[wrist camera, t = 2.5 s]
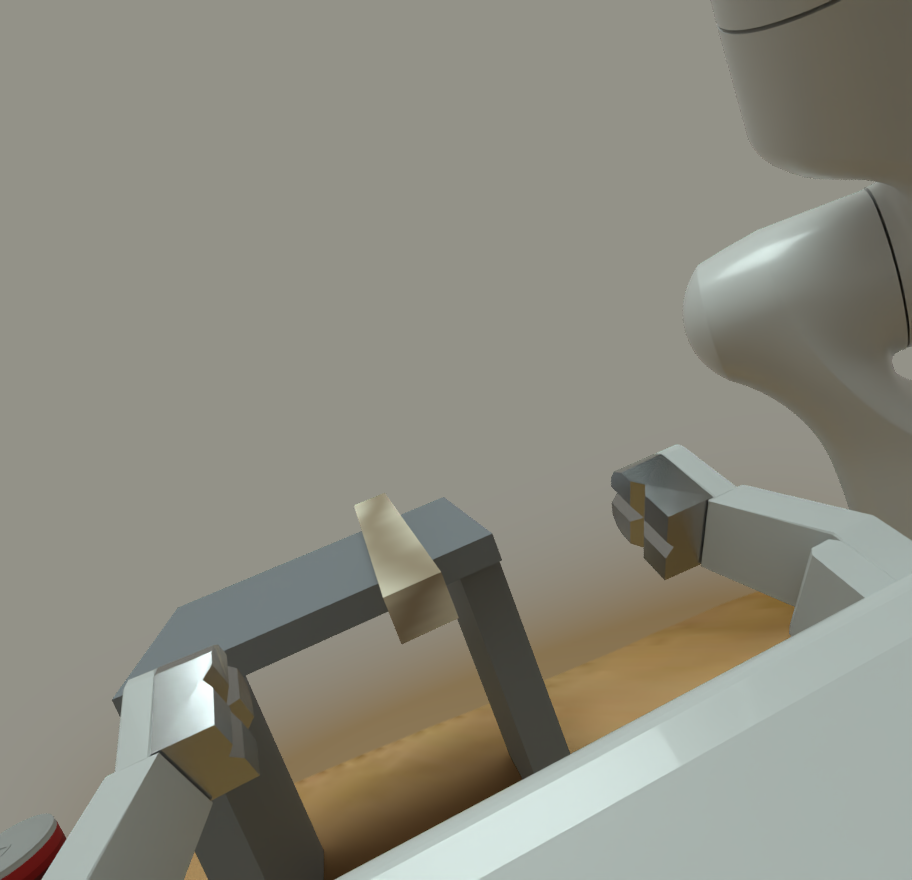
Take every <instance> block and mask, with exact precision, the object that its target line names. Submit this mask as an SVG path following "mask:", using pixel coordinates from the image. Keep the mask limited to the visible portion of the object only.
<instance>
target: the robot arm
mask: <svg viewBox="0 0 912 880" xmlns="http://www.w3.org/2000/svg"><path fill="white" fill-rule="evenodd" d="M711 4H712V8H713V12H714V16H715V20H716V23H717V28H718V31H719V35H720V39H721V42H722V46H723V50H724V53H725V57H726V60H727V64H728V68H729V71H730V75H731V79H732V82H733V86H734V89H735V93H736V97H737V100H738V104H739V108H740V111H741V115H742V119H743V122H744V126H745V129H746V133H747V137H748V140H749V142H750V143H751V145H752V146H753V148H754V150H755V151H756V152H757V153H758V154H759V155H760V156H761V157H762V158H763V159H764V160H765V161H767V162H768V163H770V164H772V165H773V166H775V167H778V168H780V169H782V170H785V171H787V172H789V173H792V174H796V175H799V176H802V177H807V178H813V179H832V180H834V179H835V180H839V179H841V180H842V179H843V180H868V181H875V183H874V184H872V185H870V186H868V187H865V188H864V190H861V191H858V192H856V193H853V194H851V195H848V196H845V197H843V198H840V199H837V200H835V201H832V202H829V203H827V204H824V205H822V206H819V207H816V208H814V209H811V210H808V211H806V212H804V213H801V214H798V215H795V216H793V217H790V218H787V219H785V220H783V221H780V222H777V223H774V224H772V225H769V226H767V227H764V228H761V229H759V230H756V231H755V232H753V233H751V234H749V235H748V236H746V237H744V238H742V239H740V240H739V241H737V242H735V243H733V244H732V245H730V246H728V247H726V248H725V249H723V250H721V251H720V252H718V253H717V254H715V255H713V256H712V257H710V258H709V259H707V260H705V261H704V262H702V263H700V264H699V265H698V266H697V268H696V269H695V271H694V273H693V274H692V277H691V279H690V281H689V283H688V286H687V289H686V292H685V296H684V301H683V323H684V328H685V332H686V336H687V338H688V341H689V343H690V345H691V347H692V349H693V350H694V352H695V354H696V355H697V356H698V357H699V359H700V360H701V361H702V362H703V363H704V364H705V365H706V366H707V367H709V368H710V369H711V370H713V371H714V372H715V373H717V374H718V375H720V376H722V377H723V378H726V379H728V380H730V381H733V382H736V383H739V384H743V385H746V386H748V387H751V388H753V389H755V390H758V391H760V392H762V393H764V394H766V395H768V396H770V397H771V398H773V399H775V400H777V401H778V402H780V403H781V404H783V405H784V406H786V407H787V408H788V409H789V410H791V411H792V412H793V413H794V414H796V415H797V416H798V417H799V418H800V419H801V420H803V421H804V423H805V424H806V425H807V426H808V427H809V428H810V429H811V430H812V431H813V432H814V434H815V435H816V436H817V438H818V439H819V440H820V442H821V443H822V445H823V446H824V448H825V450H826V451H827V453H828V455H829V457H830V459H831V461H832V464H833V466H834V468H835V471H836V473H837V476H838V479H839V481H840V484H841V486H842V489H843V492H844V495H845V498H846V501H847V504H848V507H849V510H848V509H844V508H840V507H835V506H831V505H827V504H823V503H819V502H814V501H810V500H806V499H802V498H798V497H794V496H789V495H785V494H781V493H777V492H772V491H768V490H764V489H760V488H756V487H751V486H747V485H741V486H738V487H736V486H735V485H734V484H732V483H731V482H730V481H728V480H727V479H725V478H724V477H723V476H722V475H720V474H719V473H718V472H716V471H715V470H714V469H712V468H711V467H710V466H709V465H707V464H706V463H705V462H703V461H702V460H701V459H700V458H698V457H697V456H696V455H694V454H693V453H692V452H690V451H689V450H688V449H686V448H685V447H684V446H681V445H678V444H676V445H674V446H672V447H669V448H667V449H665V450H663V451H660V452H658V453H656V454H653V455H651V456H648V457H646V458H644V459H642V460H639V461H637V462H635V463H633V464H630V465H628V466H626V467H624V468H621V469H619V470H617V471H615V472H614V473H613V475H612V477H611V482H612V483H611V484H612V485H611V486H612V488H613V489H614V490H615V491H616V492H617V494H616V496H615V498H614V500H613V502H612V511H613V516H614V519H615V521H616V524H617V526H618V528H619V529H620V531H621V533H622V534H623V535H624V537H625V538H626V539H627V540H628V541H629V542H630V543H631V544H634V545H637V546H640V547H644V559H645V560H646V561H647V562H648V563H649V564H650V565H651V566H652V567H653V568H654V569H655V570H656V571H657V572H658V573H659V574H660V576H661V577H662V578H663V579H664V580H666V579H669V578H671V577H673V576H675V575H678V574H680V573H682V572H684V571H687V570H689V569H691V568H693V567H696V566H698V565H700V564H701V566H702V567H704V568H706V569H709V570H711V571H713V572H716V573H718V574H720V575H722V576H725V577H727V578H729V579H732V580H734V581H736V582H739V583H741V584H743V585H746V586H748V587H750V588H752V589H755V590H757V591H759V592H762V593H764V594H766V595H769V596H771V597H773V598H776V599H778V600H780V601H783V602H785V603H787V604H790V605H792V606H794V607H795V609H794V613H793V616H792V620H791V623H790V630H789V634H790V635H791V636H792V637H790V638H789V639H787V640H785V641H783V642H781V643H779V644H777V645H775V646H774V647H772V648H770V649H768V650H766V651H764V652H762V653H760V654H758V655H757V656H755V657H753V658H751V659H749V660H747V661H745V662H743V663H742V664H740V665H738V666H736V667H734V668H732V669H730V670H728V671H726V672H725V673H723V674H721V675H719V676H717V677H715V678H713V679H711V680H709V681H708V682H706V683H704V684H702V685H700V686H698V687H696V688H694V689H692V690H691V691H689V692H687V693H685V694H683V695H681V696H679V697H677V698H675V699H674V700H672V701H670V702H668V703H666V704H664V705H662V706H660V707H659V708H657V709H655V710H653V711H651V712H649V713H647V714H645V715H643V716H642V717H640V718H638V719H636V720H634V721H632V722H630V723H628V724H626V725H625V726H623V727H621V728H619V729H617V730H615V731H613V732H611V733H609V734H608V735H606V736H604V737H602V738H600V739H598V740H596V741H594V742H593V743H591V744H589V745H587V746H585V747H583V748H581V749H579V750H577V751H576V752H574V753H572V754H570V755H568V756H566V757H564V758H562V759H560V760H559V761H557V762H555V763H553V764H551V765H549V766H547V767H545V768H544V769H542V770H540V771H538V772H536V773H534V774H532V775H530V776H528V777H527V778H525V779H523V780H521V781H519V782H517V783H515V784H513V785H512V786H510V787H508V788H506V789H504V790H502V791H500V792H498V793H496V794H495V795H493V796H491V797H489V798H487V799H485V800H483V801H481V802H480V803H478V804H476V805H474V806H472V807H470V808H468V809H466V810H464V811H463V812H461V813H459V814H457V815H455V816H453V817H451V818H449V819H448V820H446V821H444V822H442V823H440V824H438V825H436V826H434V827H433V828H431V829H429V830H427V831H425V832H423V833H421V834H419V835H417V836H416V837H414V838H412V839H410V840H408V841H406V842H404V843H402V844H401V845H399V846H397V847H395V848H393V849H391V850H389V851H387V852H385V853H384V854H382V855H380V856H378V857H376V858H374V859H372V860H370V861H369V862H367V863H365V864H363V865H361V866H359V867H357V868H355V869H353V870H352V871H350V872H348V873H346V874H344V875H342V876H340V877H338V878H337V879H335V880H912V380H909V379H906V378H904V377H902V376H900V375H899V374H897V373H896V372H895V370H894V367H893V364H892V357H893V356H894V354H895V353H897V352H899V351H901V350H904V349H906V348H907V347H911V346H912V0H711ZM253 718H254V712H253V704H252V699H251V696H250V692H249V689H248V686H247V684H246V682H245V680H244V678H243V676H242V674H241V673H240V672H239V670H238V669H237V668H234V667H230V666H227V654H226V653H225V652H224V651H223V650H222V648H221V647H220V646H219V645H218V644H217V645H212V646H210V647H207V648H205V649H202V650H200V651H198V652H195V653H193V654H190V655H188V656H185V657H183V658H180V659H178V660H175V661H173V662H170V663H168V664H165V665H163V666H160V667H158V668H157V669H154V670H152V671H149V672H147V673H144V674H142V675H139V676H137V677H135V678H132V679H130V680H128V682H127V683H126V685H125V687H124V690H123V697H122V707H121V717H120V726H119V736H118V746H117V756H116V765H115V766H116V767H115V773H113V774H110V775H108V776H106V777H105V779H104V780H103V782H102V784H101V785H100V787H99V788H98V790H97V792H96V793H95V795H94V796H93V798H92V799H91V801H90V803H89V804H88V806H87V807H86V809H85V811H84V812H83V814H82V815H81V817H80V819H79V820H78V822H77V823H76V825H75V827H74V828H73V830H72V831H71V833H70V835H69V836H68V838H67V839H66V841H65V843H64V844H63V846H62V847H61V849H60V851H59V852H58V854H57V855H56V857H55V859H54V860H53V862H52V863H51V865H50V867H49V868H48V870H47V871H46V873H45V875H44V876H43V878H42V879H41V880H184V878H185V875H186V872H187V870H188V867H189V865H190V862H191V859H192V857H193V854H194V851H195V849H196V846H197V844H198V841H199V838H200V836H201V833H202V831H203V828H204V825H205V823H206V820H207V817H208V815H209V812H210V810H211V807H212V804H213V802H212V801H211V800H213V799H215V798H217V797H219V796H221V795H223V794H225V793H227V792H229V791H231V790H233V789H235V788H237V787H239V786H240V785H242V784H244V783H246V782H248V781H250V780H252V779H254V778H256V777H258V776H260V770H259V760H258V750H257V740H256V739H255V737H254V736H253V735H252V734H251V732H250V731H249V730H248V728H249V726H250V724H251V722H252V720H253Z"/></svg>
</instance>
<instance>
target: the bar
mask: <svg viewBox="0 0 912 880" xmlns="http://www.w3.org/2000/svg"><path fill="white" fill-rule="evenodd" d="M354 507H355V510H356V514H357V517H358V520H359V523H360V526H361V530H362V533H363V536H364V539H365V542H366V545H367V549H368V552H369V555H370V558H371V561H372V565H373V568H374V571H375V574H376V577H377V580H378V584H379V587H380V590H381V593H382V596H383V599H384V602H385V604H386V607H387V609H388V612H389V614H390V616H391V619H392V621H393V624H394V626H395V629H396V631H397V634H398V636H399V639H400V641H401V644H404V643H406V642H408V641H410V640H412V639H414V638H416V637H419V636H421V635H423V634H425V633H427V632H429V631H432V630H434V629H436V628H438V627H440V626H442V625H445V624H447V623H449V622H451V621H453V620H455V619H458V618H459V617H458V615H457V612H456V609H455V607H454V604H453V602H452V599H451V596H450V594H449V591H448V589H447V586H446V583H445V581H444V578H443V576H442V573H441V571H440V570H439V568H438V567H437V566H436V564H435V563H434V561H433V560H432V559H431V557H430V556H429V554H428V553H427V552H426V550H425V549H424V547H423V546H422V545H421V543H420V542H419V540H418V539H417V538H416V536H415V535H414V533H413V532H412V531H411V529H410V528H409V526H408V525H407V524H406V522H405V521H404V519H403V518H402V517H401V515H400V514H399V512H398V511H397V510H396V508H395V507H394V505H393V504H392V503H391V501H390V500H389V498H388V497H387V496H386V494H385V493H383V494H381V495H378V496H376V497H373V498H371V499H368V500H366V501H363V502H361V503H359V504H356V505H354Z"/></svg>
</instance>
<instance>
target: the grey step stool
mask: <svg viewBox="0 0 912 880" xmlns="http://www.w3.org/2000/svg"><path fill="white" fill-rule="evenodd" d="M401 517H402V518H403V519H404V521H405V522H406V524H407V525H408V526H409V528H410V529H411V531H412V532H413V533H414V535H415V536H416V538H417V539H418V540H419V542H420V543H421V545H422V546H423V547H424V549H425V550H426V552H427V553H428V554H429V556H430V557H431V559H432V560H433V561H434V563H435V564H436V566H437V567H438V568H439V570H440V571H441V573H442V576H443V578H444V581H445V583H446V586H447V589H448V591H449V594H450V596H451V599H452V602H453V604H454V607H455V609H456V612H457V615H458V617H459V618H458V622H459V624H460V627H461V630H462V632H463V635H464V637H465V640H466V643H467V645H468V648H469V651H470V653H471V656H472V658H473V661H474V663H475V666H476V669H477V671H478V674H479V676H480V679H481V682H482V684H483V687H484V690H485V692H486V695H487V697H488V700H489V703H490V705H491V708H492V710H493V713H494V716H495V718H496V721H497V723H498V726H499V729H500V731H501V734H502V736H503V739H504V742H505V744H506V747H507V749H508V752H509V754H510V756H511V758H512V760H513V762H514V764H515V766H516V767H517V769H518V771H519V773H520V775H521V777H522V779H525V778H527V777H528V776H530V775H532V774H534V773H536V772H538V771H540V770H542V769H544V768H545V767H547V766H549V765H551V764H553V763H555V762H557V761H559V760H560V759H562V758H564V757H566V756H568V755H570V752H569V749H568V746H567V744H566V741H565V738H564V736H563V733H562V730H561V727H560V725H559V722H558V719H557V717H556V714H555V711H554V708H553V706H552V703H551V700H550V698H549V695H548V692H547V689H546V687H545V684H544V681H543V679H542V676H541V673H540V671H539V668H538V665H537V662H536V659H535V657H534V654H533V651H532V649H531V646H530V643H529V640H528V638H527V635H526V632H525V630H524V627H523V624H522V622H521V619H520V616H519V613H518V611H517V608H516V605H515V602H514V600H513V597H512V594H511V592H510V589H509V586H508V583H507V581H506V578H505V575H504V573H503V570H502V567H501V564H500V562H499V561H501V560H502V559H501V556H500V553H499V551H498V548H497V545H496V543H495V540H494V537H493V535H492V533H491V532H489V531H488V530H487V529H485V528H484V527H483V526H481V525H480V524H479V523H477V522H476V521H475V520H473V519H472V518H471V517H469V516H468V515H467V514H465V513H464V512H463V511H462V510H460V509H459V508H457V507H456V506H455V505H453V504H452V503H451V502H449V501H448V500H447V499H445V498H444V497H443V498H440V499H438V500H435V501H433V502H431V503H428V504H426V505H424V506H421V507H419V508H416V509H414V510H411V511H409V512H407V513H404V514H402V515H401ZM386 612H388V609H387V607H386V604H385V602H384V599H383V596H382V593H381V590H380V587H379V584H378V580H377V577H376V574H375V571H374V568H373V565H372V561H371V558H370V555H369V552H368V549H367V545H366V542H365V539H364V536H363V533H362V531H361V532H359V533H356V534H354V535H351V536H349V537H347V538H344V539H342V540H339V541H337V542H335V543H332V544H330V545H327V546H325V547H323V548H320V549H318V550H315V551H313V552H311V553H308V554H306V555H303V556H301V557H299V558H296V559H294V560H291V561H289V562H287V563H284V564H282V565H279V566H277V567H274V568H272V569H270V570H268V571H265V572H262V573H260V574H258V575H255V576H253V577H250V578H248V579H246V580H243V581H241V582H239V583H236V584H234V585H231V586H229V587H226V588H224V589H222V590H219V591H217V592H214V593H212V594H210V595H207V596H205V597H202V598H200V599H198V600H195V601H193V602H190V603H188V604H186V605H183V606H181V607H178V608H177V610H176V611H175V613H174V614H173V615H172V617H171V618H170V620H169V621H168V622H167V624H166V625H165V627H164V628H163V629H162V631H161V632H160V633H159V635H158V636H157V638H156V639H155V641H154V642H153V643H152V645H151V646H150V648H149V649H148V650H147V652H146V653H145V654H144V656H143V657H142V659H141V660H140V661H139V663H138V664H137V666H136V667H135V668H134V670H133V671H132V673H131V674H130V675H129V677H128V678H127V679H126V681H125V682H124V684H123V685H122V686H121V688H120V689H119V691H118V692H117V693H116V695H115V697H114V698H113V699H112V701H113V703H114V705H115V707H116V709H117V711H118V713H119V716H120V717H121V707H122V697H123V690H124V687H125V685H126V683H127V682H128V680H130V679H132V678H135V677H137V676H139V675H142V674H144V673H147V672H149V671H152V670H154V669H157V668H158V667H160V666H163V665H165V664H168V663H170V662H173V661H175V660H178V659H180V658H183V657H185V656H188V655H190V654H193V653H195V652H198V651H200V650H202V649H205V648H207V647H210V646H212V645H217V644H218V645H219V646H220V647H221V648H222V650H223V651H224V652H225V653H226V654H227V666H230V667H234V668H237V669H238V670H239V672H240V673H241V674H242V676H243V678H244V680H245V682H246V684H247V686H248V689H249V692H250V696H251V699H252V704H253V712H254V718H253V720H252V722H251V724H250V726H249V728H248V730H249V731H250V732H251V734H252V735H253V736H254V737H255V739H256V740H257V750H258V760H259V770H260V776H258V777H256V778H254V779H252V780H250V781H248V782H246V783H244V784H242V785H240V786H239V787H237V788H235V789H233V790H231V791H229V792H227V793H225V794H223V795H221V796H219V797H217V798H215V799H213V800H211V801H212V802H213V804H212V807H211V810H210V812H209V815H208V817H207V820H206V823H205V825H204V828H203V831H202V833H201V836H200V838H199V841H198V844H197V846H196V849H195V853H196V855H197V857H198V859H199V861H200V863H201V865H202V867H203V869H204V871H205V873H206V876H207V878H208V880H324V850H323V848H322V846H321V844H320V841H319V839H318V837H317V835H316V832H315V830H314V828H313V826H312V823H311V821H310V819H309V817H308V814H307V812H306V810H305V808H304V806H303V803H302V801H301V799H300V797H299V794H298V792H297V790H296V788H295V785H294V783H293V781H292V779H291V777H290V774H289V772H288V770H287V768H286V765H285V763H284V761H283V759H282V756H281V754H280V752H279V750H278V747H277V745H276V743H275V741H274V738H273V736H272V734H271V732H270V729H269V727H268V725H267V723H266V721H265V718H264V716H263V714H262V712H261V709H260V707H259V705H258V703H257V700H256V698H255V696H254V694H253V692H252V689H251V687H250V685H249V682H248V680H247V678H246V676H245V675H248V674H250V673H252V672H254V671H256V670H258V669H261V668H263V667H265V666H268V665H270V664H272V663H274V662H277V661H279V660H281V659H283V658H285V657H288V656H290V655H292V654H294V653H297V652H299V651H301V650H303V649H305V648H308V647H310V646H312V645H314V644H317V643H319V642H321V641H323V640H326V639H328V638H330V637H332V636H334V635H337V634H339V633H341V632H343V631H345V630H348V629H350V628H352V627H355V626H356V625H359V624H361V623H363V622H365V621H368V620H370V619H372V618H375V617H377V616H379V615H381V614H383V613H386Z"/></svg>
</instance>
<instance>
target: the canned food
mask: <svg viewBox="0 0 912 880" xmlns="http://www.w3.org/2000/svg"><path fill="white" fill-rule="evenodd" d="M65 841H66V837H65V835H64V833H63V831H62V830H61V828H60V826H59V824H58V822H57V821H56V820H55V819H54V817H53V816H52V815H51V814H41V815H37V816H34V817H31V818H29V819H26V820H24V821H22V822H20V823H18V824H16V825H14V826H12V827H11V828H9V829H7V830H5V831H4V832H2V833H1V834H0V880H41V879H42V878H43V876H44V875H45V873H46V871H47V870H48V868H49V867H50V865H51V863H52V862H53V860H54V859H55V857H56V855H57V854H58V852H59V851H60V849H61V847H62V846H63V844H64V843H65Z"/></svg>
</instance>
